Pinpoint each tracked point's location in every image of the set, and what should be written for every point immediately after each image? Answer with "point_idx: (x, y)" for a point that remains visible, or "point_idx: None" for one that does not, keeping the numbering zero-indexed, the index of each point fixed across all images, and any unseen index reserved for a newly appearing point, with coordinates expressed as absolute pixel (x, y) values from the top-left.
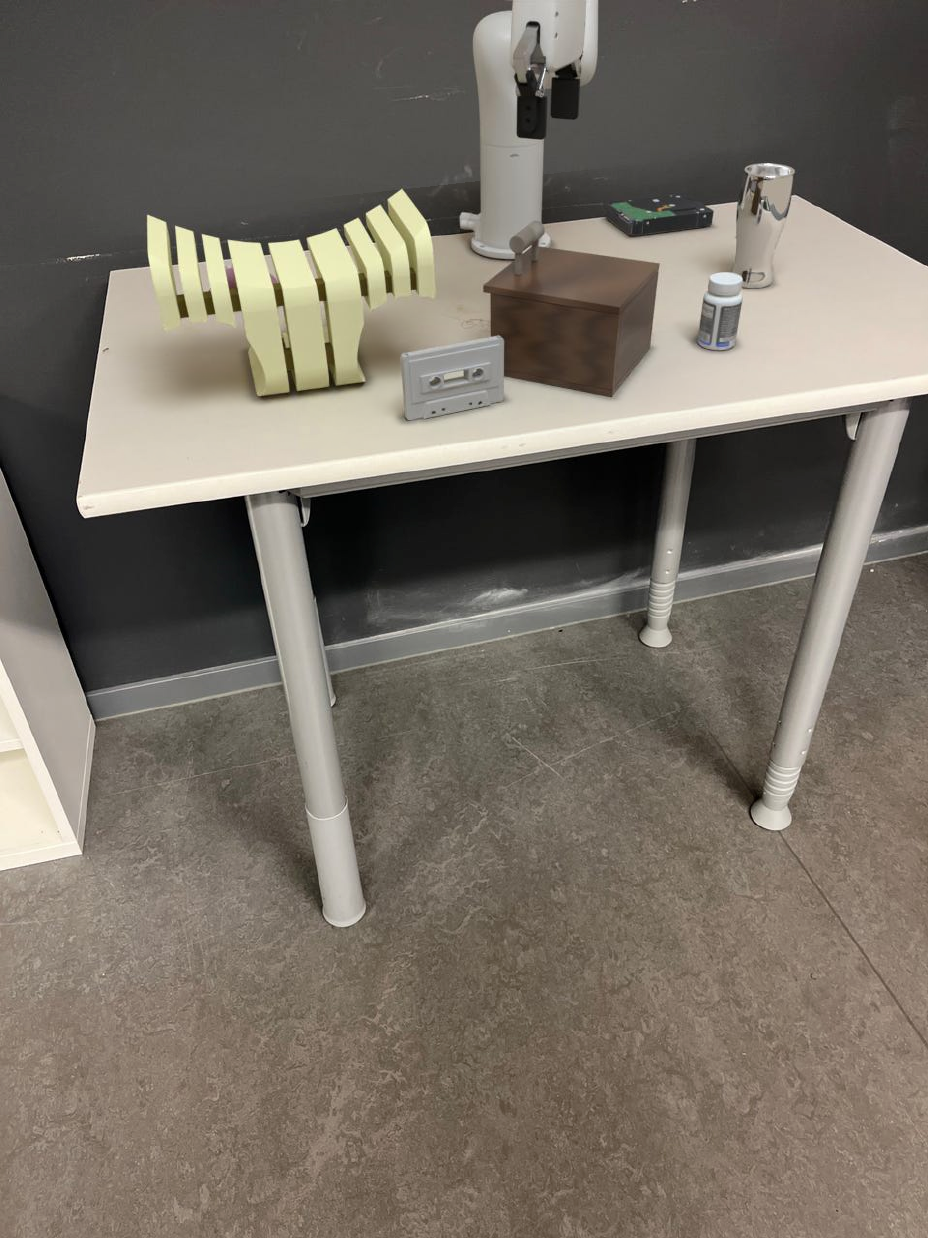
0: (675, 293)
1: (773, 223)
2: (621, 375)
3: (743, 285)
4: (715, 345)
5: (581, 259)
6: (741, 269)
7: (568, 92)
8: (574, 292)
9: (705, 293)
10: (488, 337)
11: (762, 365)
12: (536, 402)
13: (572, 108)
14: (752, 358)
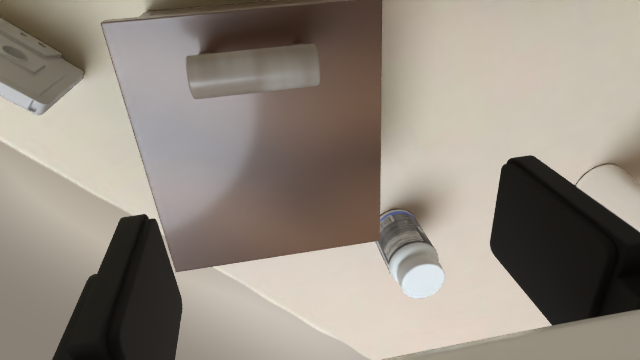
0: (538, 125)
1: None
2: None
3: None
4: None
5: (343, 130)
6: (593, 194)
7: (549, 285)
8: (185, 195)
9: (410, 249)
10: (17, 92)
11: (357, 281)
12: (112, 122)
13: (509, 261)
14: (370, 268)
